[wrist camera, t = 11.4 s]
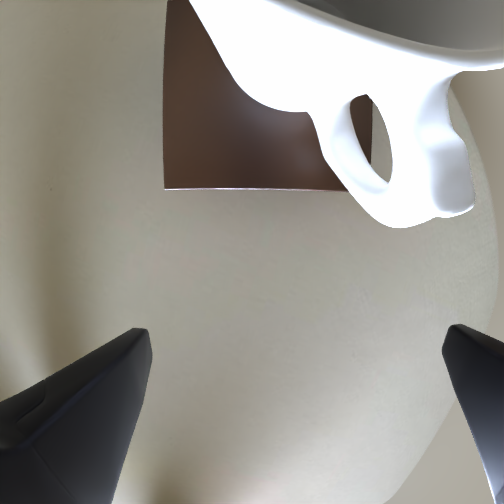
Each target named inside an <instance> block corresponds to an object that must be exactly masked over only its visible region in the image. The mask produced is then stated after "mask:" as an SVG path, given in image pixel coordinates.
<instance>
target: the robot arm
mask: <svg viewBox="0 0 504 504" xmlns="http://www.w3.org/2000/svg"><path fill="white" fill-rule="evenodd" d="M442 355H443V358H444V361H445V364H446V366H447V369H448V372H449V375H450V378H451V381H452V385H453V388H454V390H455V393H456V396H457V398H458V400H459V403H460V405H461V408H462V410H463V412H464V415H465V417H466V420H467V422H468V425H469V427H470V430H471V433H472V435H473V438H474V441H475V443H476V446H477V449H478V452H479V454H480V457H481V460H482V463H483V466H484V469H485V472H486V475H487V478H488V481H489V485H490V488H491V491H492V495H493V497H494V502H495V504H504V343H503V342H501V341H499V340H497V339H494V338H492V337H490V336H488V335H485V334H483V333H481V332H479V331H476V330H474V329H472V328H470V327H467V326H465V325H463V324H456V325H451V326H450V327H449V329H448V332H447V335H446V338H445V340H444V343H443V346H442ZM151 363H152V348H151V343H150V337H149V333H148V330H147V329H143V328H132V329H130V330H129V331H127V332H125V333H123V334H122V335H120V336H118V337H117V338H115V339H113V340H111V341H110V342H108V343H106V344H105V345H103V346H101V347H99V348H98V349H96V350H94V351H92V352H91V353H89V354H87V355H85V356H84V357H82V358H80V359H79V360H77V361H75V362H73V363H72V364H70V365H68V366H66V367H65V368H63V369H61V370H59V371H58V372H56V373H54V374H52V375H51V376H49V377H47V378H46V379H45V380H42V381H40V382H39V383H37V384H35V385H33V386H31V387H30V388H28V389H26V390H24V391H22V392H20V393H18V394H16V395H14V396H12V397H10V398H8V399H6V400H4V401H2V402H0V504H112V500H113V497H114V493H115V490H116V486H117V483H118V480H119V476H120V473H121V470H122V467H123V463H124V460H125V457H126V454H127V451H128V448H129V444H130V441H131V438H132V435H133V432H134V429H135V426H136V423H137V420H138V417H139V414H140V411H141V408H142V405H143V401H144V396H145V391H146V386H147V382H148V377H149V372H150V368H151Z"/></svg>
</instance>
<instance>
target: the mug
mask: <svg viewBox="0 0 504 504" xmlns="http://www.w3.org/2000/svg"><path fill="white" fill-rule="evenodd" d="M189 1H190V3H191V4H192V6H193V8H194V9H195V11H196V13H197V15H198V16H199V18H200V20H201V21H202V23H203V25H204V27H205V28H206V30H207V32H208V34H209V35H210V37H211V39H212V41H213V43H214V44H215V46H216V48H217V50H218V52H219V54H220V55H221V57H222V59H223V61H224V63H225V65H226V67H227V68H228V69H229V71H230V73H231V74H232V76H233V78H234V79H235V81H236V82H237V84H238V85H239V86H240V87H241V88H242V89H243V90H244V91H245V92H246V93H247V94H248V95H249V96H251V97H252V98H254V99H255V100H257V101H258V102H260V103H262V104H264V105H266V106H269V107H272V108H275V109H278V110H283V111H291V112H304V111H307V112H308V113H309V114H310V116H311V118H312V119H313V122H314V125H315V128H316V131H317V134H318V138H319V142H320V146H321V150H322V153H323V156H324V158H325V160H326V161H327V163H328V164H329V165H330V167H331V168H332V169H333V171H334V172H335V174H336V175H337V176H338V178H339V179H340V180H341V181H342V183H343V184H344V185H345V187H346V188H347V189H348V191H349V192H350V193H351V194H352V195H353V197H354V198H355V199H356V200H357V201H358V202H359V203H360V204H361V206H362V207H363V208H364V209H365V210H366V211H367V212H368V213H369V214H370V215H371V216H373V217H374V218H375V219H376V220H378V221H379V222H381V223H383V224H385V225H387V226H390V227H394V228H403V227H409V226H413V225H417V224H420V223H422V222H425V221H427V220H430V219H432V218H434V217H436V216H439V217H452V216H456V215H459V214H462V213H465V212H467V211H468V210H470V209H471V208H472V207H473V206H474V204H475V200H476V193H475V188H474V184H473V179H472V173H471V168H470V162H469V156H468V152H467V148H466V146H465V143H464V142H463V141H462V139H461V138H460V137H459V136H458V135H457V133H456V132H455V131H454V129H453V127H452V124H451V121H450V117H449V111H448V104H447V97H448V88H449V85H450V82H451V79H452V78H453V77H454V76H455V75H456V74H457V73H459V72H461V71H463V70H470V71H471V70H472V71H477V70H478V71H480V70H491V69H497V68H502V67H504V0H189ZM363 94H368V95H369V97H370V98H371V99H372V100H373V101H374V103H375V104H376V105H377V106H378V108H379V110H380V112H381V115H382V117H383V119H384V121H385V124H386V127H387V131H388V134H389V137H390V143H391V149H392V156H393V168H392V177H391V180H390V182H389V183H387V182H386V181H384V180H383V179H382V178H380V177H379V176H378V175H377V174H376V172H375V171H374V170H373V169H372V167H371V166H370V164H369V163H368V161H367V159H366V157H365V155H364V153H363V151H362V149H361V147H360V144H359V142H358V139H357V136H356V134H355V130H354V127H353V123H352V119H351V115H350V102H351V101H352V100H353V99H354V98H355V97H357V96H359V95H363Z"/></svg>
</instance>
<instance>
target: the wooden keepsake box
mask: <svg viewBox="0 0 504 504" xmlns="http://www.w3.org/2000/svg"><path fill="white" fill-rule="evenodd" d="M350 115H351V119H352V123H353V127H354V130H355V134H356V136H357V139H358V142H359V144H360V147H361V149H362V151H363V153H364V155H365V157H366V159H367V161H368V163H369V164H370V166H371V145H372V99H371V98H370V97H369V95H368V94H363V95H359V96H357V97H355V98H354V99H353V100H352V101H351V102H350ZM163 165H164V189H165V190H199V189H262V190H305V191H331V192H349V191H348V189H347V188H346V187H345V185H344V184H343V183H342V181H341V180H340V179H339V178H338V176H337V175H336V174H335V172H334V171H333V169H332V168H331V167H330V165H329V164H328V163H327V161H326V160H325V158H324V156H323V153H322V150H321V146H320V142H319V138H318V134H317V131H316V128H315V125H314V122H313V119H312V118H311V116H310V114H309V113H308V112H307V111H304V112H291V111H283V110H278V109H275V108H272V107H269V106H266V105H264V104H262V103H260V102H258V101H257V100H255V99H254V98H252V97H251V96H249V95H248V94H247V93H246V92H245V91H244V90H243V89H242V88H241V87H240V86H239V85H238V84H237V82H236V81H235V79H234V78H233V76H232V74H231V73H230V71H229V69H228V68H227V67H226V65H225V63H224V61H223V59H222V57H221V55H220V54H219V52H218V50H217V48H216V46H215V44H214V43H213V41H212V39H211V37H210V35H209V34H208V32H207V30H206V28H205V27H204V25H203V23H202V21H201V20H200V18H199V16H198V15H197V13H196V11H195V9H194V8H193V6H192V4H191V3H190V1H189V0H168V1H167V12H166V27H165V44H164V69H163Z"/></svg>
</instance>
